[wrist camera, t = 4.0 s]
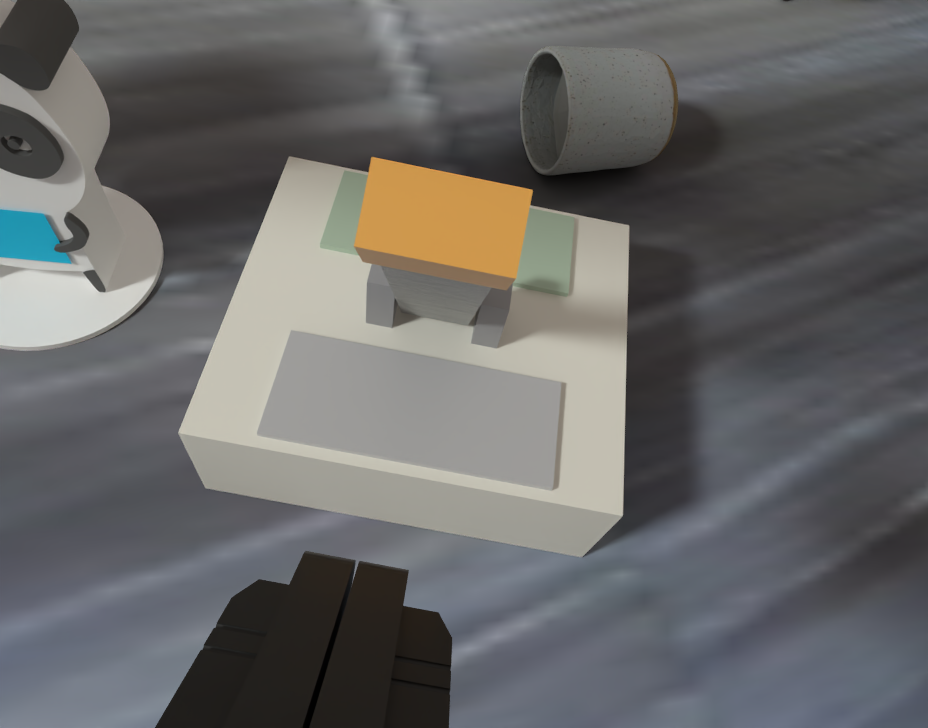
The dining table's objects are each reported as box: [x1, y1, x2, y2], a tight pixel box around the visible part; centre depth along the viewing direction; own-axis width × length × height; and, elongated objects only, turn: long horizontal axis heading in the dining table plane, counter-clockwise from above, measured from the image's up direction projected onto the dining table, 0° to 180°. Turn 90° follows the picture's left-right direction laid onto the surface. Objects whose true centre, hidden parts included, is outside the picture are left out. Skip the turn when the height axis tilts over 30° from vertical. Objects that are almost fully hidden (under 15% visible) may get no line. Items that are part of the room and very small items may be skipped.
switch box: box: [178, 156, 629, 557], centre depth 33 cm, size 16×18×9 cm
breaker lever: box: [354, 157, 533, 326], centre depth 24 cm, size 2×4×17 cm, turn 81°
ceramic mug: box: [520, 46, 678, 175], centre depth 46 cm, size 11×8×8 cm
